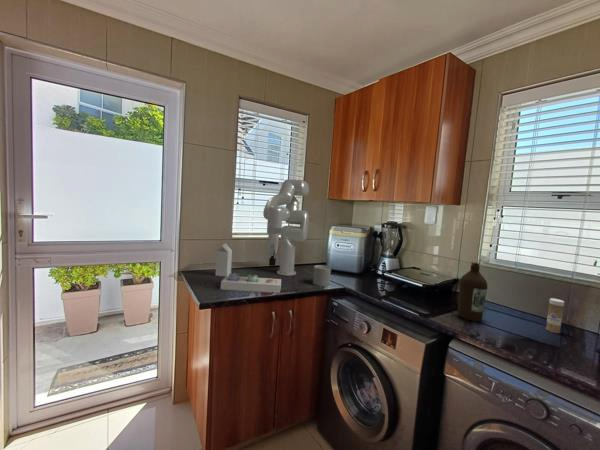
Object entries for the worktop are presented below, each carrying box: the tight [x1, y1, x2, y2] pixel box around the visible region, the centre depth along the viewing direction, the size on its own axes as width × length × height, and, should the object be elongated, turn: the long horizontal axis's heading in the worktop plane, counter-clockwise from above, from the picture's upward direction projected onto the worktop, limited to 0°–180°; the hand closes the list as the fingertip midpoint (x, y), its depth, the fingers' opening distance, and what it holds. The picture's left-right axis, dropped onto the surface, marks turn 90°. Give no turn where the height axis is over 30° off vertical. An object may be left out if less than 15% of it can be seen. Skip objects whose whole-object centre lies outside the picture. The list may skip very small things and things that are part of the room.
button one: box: [267, 278, 276, 283], centre depth 149 cm, size 5×5×4 cm
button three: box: [247, 274, 258, 282], centre depth 149 cm, size 5×5×4 cm
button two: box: [229, 272, 240, 281], centre depth 149 cm, size 5×5×4 cm
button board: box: [220, 276, 282, 294], centre depth 149 cm, size 12×30×4 cm, turn 91°
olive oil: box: [457, 261, 488, 322], centre depth 126 cm, size 11×11×25 cm
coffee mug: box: [312, 264, 332, 287], centre depth 167 cm, size 13×10×10 cm
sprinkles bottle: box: [545, 297, 565, 334], centre depth 117 cm, size 5×5×14 cm
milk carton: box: [215, 243, 233, 278], centre depth 170 cm, size 7×7×19 cm
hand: (272, 265), depth 148 cm, fingers closed
